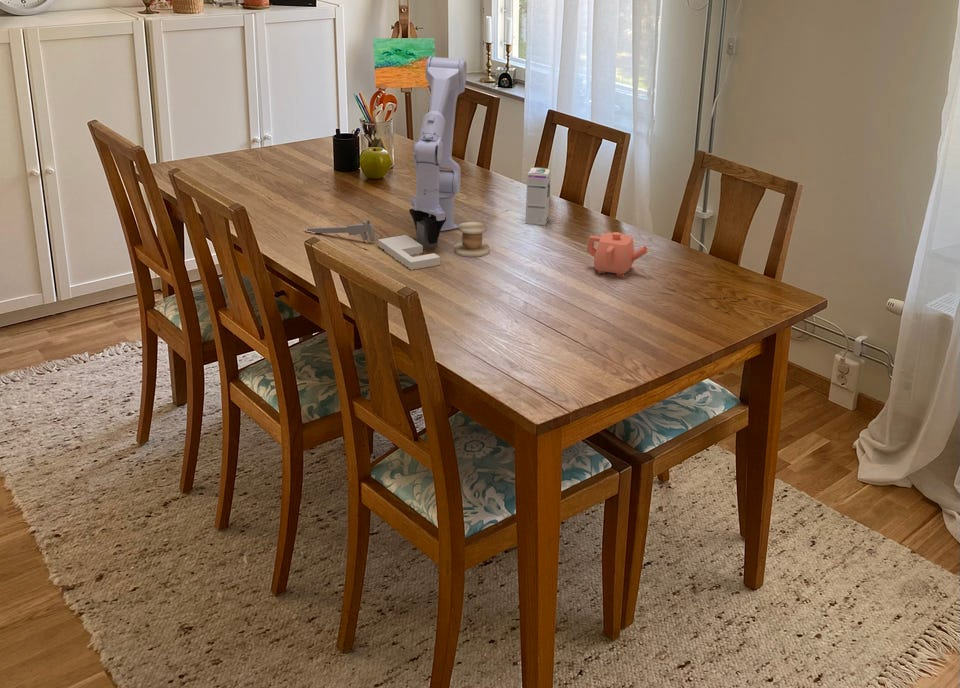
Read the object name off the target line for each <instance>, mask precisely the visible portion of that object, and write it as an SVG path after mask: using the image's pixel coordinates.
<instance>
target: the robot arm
mask: <svg viewBox="0 0 960 688" xmlns="http://www.w3.org/2000/svg"><path fill="white" fill-rule="evenodd" d="M467 71H468V66H467V61H466V60H465V58H463V57H462V58H454V57H453V58H452V57H451V58H450V57H437V56H431V55H430V56H429V57H428V58H427V59H426V62H425V78H426V80H427V85H428V86H429V88H430V97H429V105H428V106H429V107H428V112H427V113H425V114H424V115H423V117H422V122H421V126H420V132H419V136H418V141H415V143H414V145H413V151H412V152H413V162H414V170H415V172H416V175H415V176H416V178H415V179H416V182H415V185H416V186H415V188H416V192H415V193H416V195H415V196H413V197H410V205H411V206H412V207H411V208H410V209H409V210H408V212H409V213H410V215H411V218H412V220H413V223H414V227H415V231H416V233H417V221H423V220H424V222H425V224H426V228H427V235H428V242H429V244H434V243H437V241H438V242H439V237H440V233H441V232H445V231H450V230H457V229H459V225H460V224H456V223H455V196H456V195H458V194H459V192H460V191H461V185H462V184H461V183H462V176H461V175H462V173H461V172H462V168H461V166H460V165H459V163H458V162H457V161H455V160H454V158H453V157H452V152H453V143H454V133H455V130H454V129H455V121H456V108H457V100H458V97H459V95H460V94H462V93H465V90H466V89H465V88H466V85H467V74H468V72H467ZM444 169H445V170H444Z"/></svg>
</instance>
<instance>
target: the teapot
mask: <svg viewBox="0 0 960 688" xmlns="http://www.w3.org/2000/svg"><path fill="white" fill-rule="evenodd" d="M595 242H597V245H596V247H594V246H595ZM586 252H587V253H588V254H590V255H591V256H592V257H593V258H594V259H593V266H594V269H595V270H597V273H598V272H599V273H604V274H606V273H612V274H615V275H618V276H623V275H624V276H625V274H626V273H628V271H630V270H631V268H632V266H633V265H634V262H635V261H636V260H639V258H641V257H643V256H644V255H646V254H647V253H649V249H648V248H647V246H646V245H643V246H642V247H640V248H639V249H638V250H636V251H635V245H634V238H633V236H632V235H630V234H629V235H628V234H624V233H622V232H618V231H614V232H610V231H607V232H605V233H604V234H603V235H602V236H597V235H590V236H589V238H588V243H587V247H586ZM599 273H598V274H599ZM618 276H617V277H618Z"/></svg>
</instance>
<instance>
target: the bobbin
mask: <svg viewBox="0 0 960 688" xmlns="http://www.w3.org/2000/svg"><path fill="white" fill-rule="evenodd" d="M458 225H459V228H458V231H459V232H461V235H462V237H461V238H462V239H461V240H462V241H461V242H457V243H455V244H454V246H453V247H454V248H453V251H454V253H455V254H457V256H458V255H459V256H462V257H465V258H466V257H467V258H479V257H484V256H487V255H489V254H490V248H491V247H490V245H489V244H488V243H485V242H483V234H484V233H485V232H487V225H486V224H484V223H482V222H478V221H477V222H476V221H466V222H462V223H459V224H458Z"/></svg>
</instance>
